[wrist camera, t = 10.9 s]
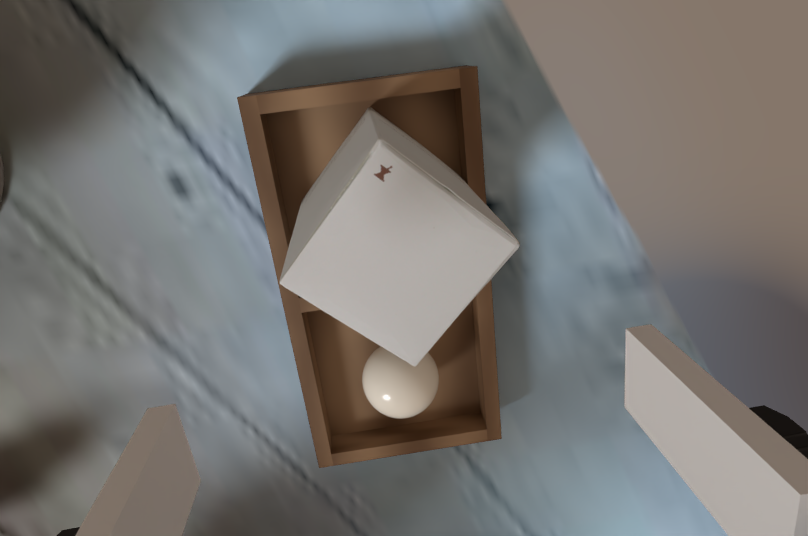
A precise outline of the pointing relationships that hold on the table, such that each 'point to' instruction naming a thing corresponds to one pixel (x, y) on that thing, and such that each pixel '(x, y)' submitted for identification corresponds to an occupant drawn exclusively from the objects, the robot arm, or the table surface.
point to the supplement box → (393, 240)
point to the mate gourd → (1, 177)
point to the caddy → (328, 337)
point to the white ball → (399, 384)
